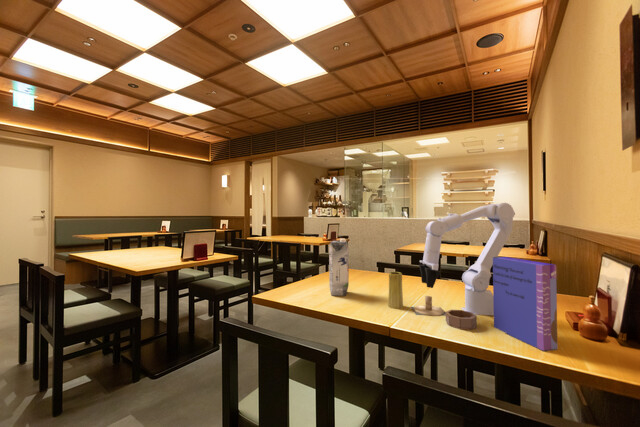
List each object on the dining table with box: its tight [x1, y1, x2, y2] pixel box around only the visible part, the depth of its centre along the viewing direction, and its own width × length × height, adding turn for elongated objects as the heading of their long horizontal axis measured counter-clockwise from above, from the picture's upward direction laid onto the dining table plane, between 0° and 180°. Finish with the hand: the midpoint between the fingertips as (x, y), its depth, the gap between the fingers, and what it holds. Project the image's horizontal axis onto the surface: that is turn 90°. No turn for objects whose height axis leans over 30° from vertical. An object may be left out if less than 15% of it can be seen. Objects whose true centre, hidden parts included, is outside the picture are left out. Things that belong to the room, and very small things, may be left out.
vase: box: [387, 271, 404, 310], centre depth 121 cm, size 6×6×14 cm
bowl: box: [445, 309, 478, 331], centre depth 100 cm, size 9×9×4 cm
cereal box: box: [492, 256, 559, 352], centre depth 90 cm, size 17×5×24 cm, turn 12°
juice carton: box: [328, 238, 350, 297], centre depth 143 cm, size 9×10×27 cm
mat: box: [410, 306, 446, 317], centre depth 115 cm, size 12×10×1 cm
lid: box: [413, 295, 445, 317], centre depth 115 cm, size 11×11×6 cm
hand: (427, 285), depth 115 cm, fingers open, 7 cm apart
